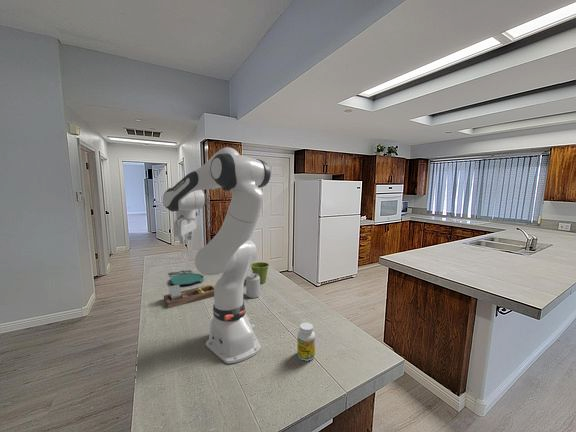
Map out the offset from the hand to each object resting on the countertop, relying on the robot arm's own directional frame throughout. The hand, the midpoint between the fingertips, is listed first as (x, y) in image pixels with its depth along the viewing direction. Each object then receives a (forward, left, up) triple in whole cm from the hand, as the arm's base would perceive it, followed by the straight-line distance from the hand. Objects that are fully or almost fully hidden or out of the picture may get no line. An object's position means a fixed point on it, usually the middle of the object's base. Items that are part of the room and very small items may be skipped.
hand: (186, 241), depth 122 cm
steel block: (+6, +5, -33) cm, 33 cm away
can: (-11, -32, -33) cm, 47 cm away
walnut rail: (+6, -4, -32) cm, 33 cm away
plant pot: (+4, -45, -33) cm, 55 cm away
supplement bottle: (-65, -24, -33) cm, 77 cm away
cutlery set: (+37, -8, -33) cm, 50 cm away
